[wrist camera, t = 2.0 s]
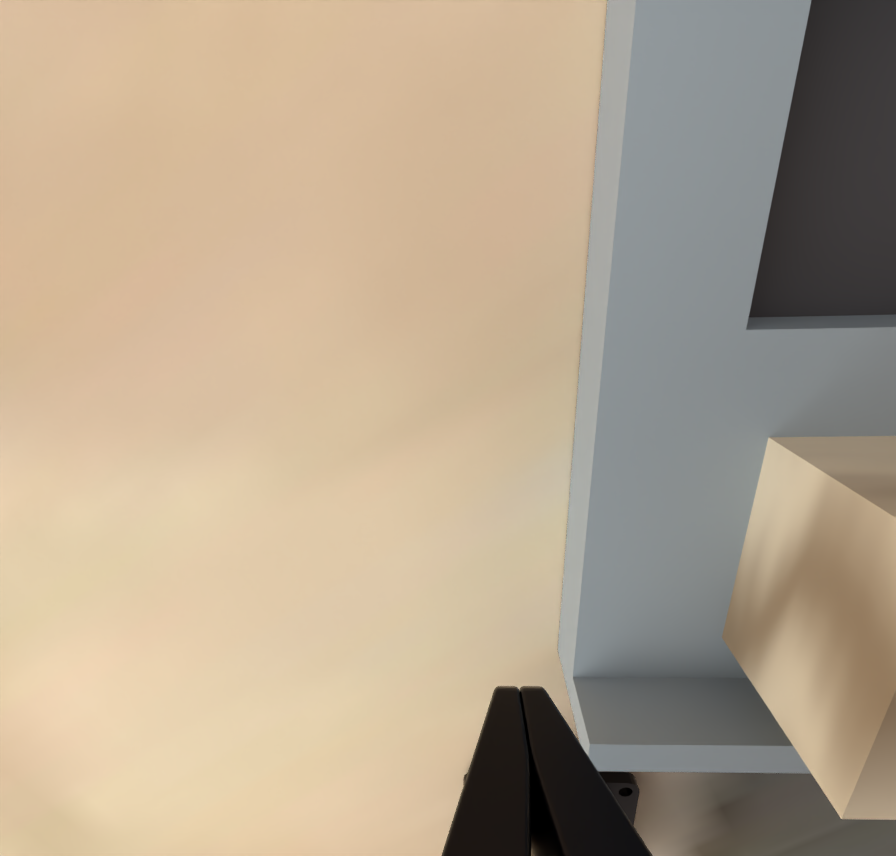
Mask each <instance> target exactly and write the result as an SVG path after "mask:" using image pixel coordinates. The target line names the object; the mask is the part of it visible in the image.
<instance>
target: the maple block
mask: <svg viewBox="0 0 896 856" xmlns="http://www.w3.org/2000/svg"><path fill="white" fill-rule="evenodd" d="M722 639H723V640H724V642H725V643H726V645H727V646H728V648H729V649H730V651H731V652H732V654H733V655H734V657H735V658H736V660H737V661H738V663H739V664H740V666H741V668H742V669H743V671H744V672H745V674H746V675H747V677H748V678H749V680H750V681H751V683H752V684H753V686H754V687H755V689H756V690H757V692H758V693H759V695H760V696H761V698H762V699H763V701H764V702H765V704H766V705H767V707H768V708H769V710H770V711H771V713H772V714H773V716H774V718H775V719H776V721H777V722H778V724H779V725H780V727H781V728H782V730H783V731H784V733H785V734H786V736H787V737H788V739H789V740H790V742H791V743H792V745H793V746H794V748H795V749H796V751H797V752H798V754H799V755H800V757H801V758H802V760H803V761H804V763H805V764H806V766H807V767H808V769H809V771H810V772H811V774H812V775H813V777H814V778H815V780H816V781H817V783H818V784H819V786H820V787H821V789H822V790H823V792H824V793H825V795H826V796H827V798H828V799H829V801H830V802H831V804H832V805H833V807H834V808H835V810H836V811H837V813H838V814H839V816H840V817H841V819H882V820H896V436H837V437H769V438H768V442H767V446H766V450H765V455H764V459H763V463H762V468H761V472H760V476H759V480H758V485H757V489H756V493H755V498H754V502H753V506H752V510H751V515H750V519H749V523H748V528H747V532H746V536H745V540H744V545H743V549H742V553H741V558H740V562H739V566H738V570H737V575H736V579H735V583H734V588H733V592H732V596H731V600H730V605H729V609H728V613H727V618H726V622H725V626H724V630H723V635H722Z"/></svg>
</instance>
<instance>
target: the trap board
mask: <svg viewBox="0 0 896 856" xmlns="http://www.w3.org/2000/svg"><path fill="white" fill-rule="evenodd" d="M837 436H896V0H607V13H606V26H605V39H604V52H603V65H602V78H601V91H600V104H599V117H598V130H597V144H596V157H595V170H594V183H593V196H592V209H591V222H590V235H589V248H588V261H587V274H586V287H585V300H584V313H583V326H582V340H581V353H580V366H579V379H578V392H577V405H576V418H575V431H574V444H573V457H572V470H571V483H570V496H569V509H568V522H567V535H566V549H565V562H564V575H563V588H562V601H561V614H560V627H559V640H558V653H559V657H560V661H561V665H562V670H563V674H564V678H565V682H566V686H567V691H568V695H569V699H570V703H571V707H572V712H573V716H574V720H575V724H576V728H577V733H578V737H579V741H580V744H581V746H582V747H583V749H584V751H585V752H586V754H587V755H588V757H589V758H590V760H591V761H592V763H593V765H594V766H595V768H596V769H597V771H619V772H722V773H811V772H810V771H809V769H808V767H807V766H806V764H805V763H804V761H803V760H802V758H801V757H800V755H799V754H798V752H797V751H796V749H795V748H794V746H793V745H792V743H791V742H790V740H789V739H788V737H787V736H786V734H785V733H784V731H783V730H782V728H781V727H780V725H779V724H778V722H777V721H776V719H775V718H774V716H773V714H772V713H771V711H770V710H769V708H768V707H767V705H766V704H765V702H764V701H763V699H762V698H761V696H760V695H759V693H758V692H757V690H756V689H755V687H754V686H753V684H752V683H751V681H750V680H749V678H748V677H747V675H746V674H745V672H744V671H743V669H742V668H741V666H740V664H739V663H738V661H737V660H736V658H735V657H734V655H733V654H732V652H731V651H730V649H729V648H728V646H727V645H726V643H725V642H724V640H723V639H722V635H723V630H724V626H725V622H726V618H727V613H728V609H729V605H730V600H731V596H732V592H733V588H734V583H735V579H736V575H737V570H738V566H739V562H740V558H741V553H742V549H743V545H744V540H745V536H746V532H747V528H748V523H749V519H750V515H751V510H752V506H753V502H754V498H755V493H756V489H757V485H758V480H759V476H760V472H761V468H762V463H763V459H764V455H765V450H766V446H767V442H768V438H769V437H837Z"/></svg>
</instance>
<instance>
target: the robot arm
mask: <svg viewBox="0 0 896 856" xmlns="http://www.w3.org/2000/svg"><path fill="white" fill-rule="evenodd" d="M638 796H639V788H638V785H637V782H636V779H635V777H634V776H633V774H631V773H628V772H598V771H597V769H596V768H595V766H594V765H593V763H592V761H591V760H590V758H589V757H588V755H587V754H586V752H585V751H584V749H583V747H582V746H581V744H580V743H579V741H578V740H577V738H576V737H575V735H574V734H573V732H572V730H571V729H570V727H569V726H568V724H567V723H566V721H565V720H564V718H563V717H562V715H561V713H560V712H559V710H558V709H557V707H556V706H555V704H554V703H553V701H552V700H551V698H550V696H549V695H548V693H547V692H546V691H545V689H544V688H542V687H539V686H523V687H521V688H520V690H519V689H518V688H517V687H515V686H498V687H496V688H495V690H494V692H493V696H492V699H491V702H490V705H489V708H488V711H487V714H486V718H485V721H484V724H483V727H482V730H481V733H480V736H479V740H478V743H477V746H476V749H475V752H474V755H473V758H472V762H471V765H470V768H469V771H468V773H467V774H466V775H465V776H464V787H463V790H462V793H461V796H460V799H459V802H458V806H457V809H456V812H455V815H454V818H453V821H452V824H451V828H450V831H449V834H448V837H447V840H446V843H445V846H444V850H443V853H442V856H652V854H651V853H650V851H649V850H648V848H647V846H646V845H645V843H644V842H643V840H642V839H641V837H640V836H639V834H638V833H637V831H636V829H635V828H634V826H633V824H634V818H635V813H636V807H637V802H638Z"/></svg>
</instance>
